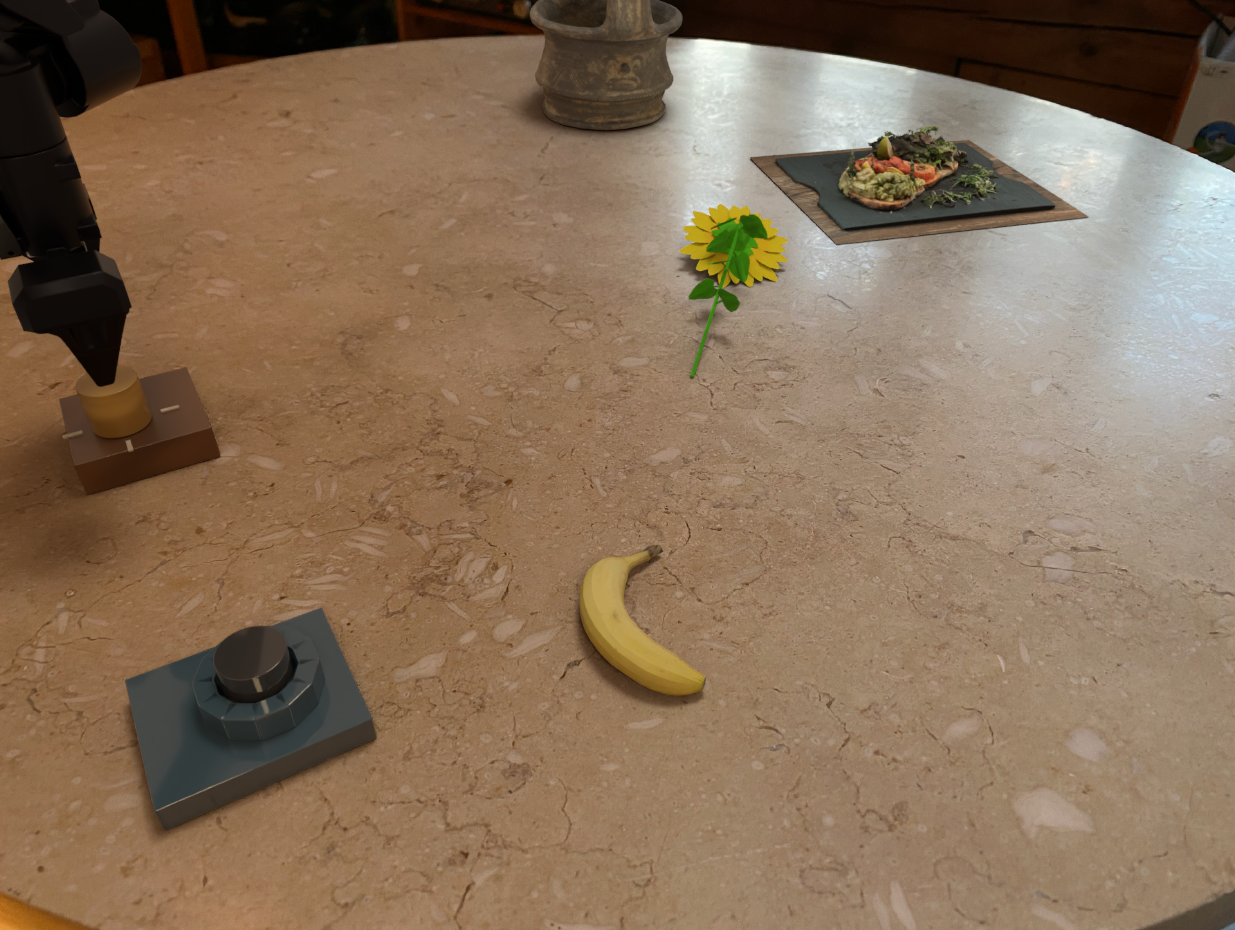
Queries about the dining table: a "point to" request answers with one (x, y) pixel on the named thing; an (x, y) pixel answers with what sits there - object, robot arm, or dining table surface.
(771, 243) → the flower
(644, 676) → the fruit
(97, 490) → the panel
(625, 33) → the clay pot
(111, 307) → the robot arm
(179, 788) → the knob base
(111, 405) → the knob
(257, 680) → the dark rotary knob
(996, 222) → the plated dish
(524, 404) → the dining table surface
